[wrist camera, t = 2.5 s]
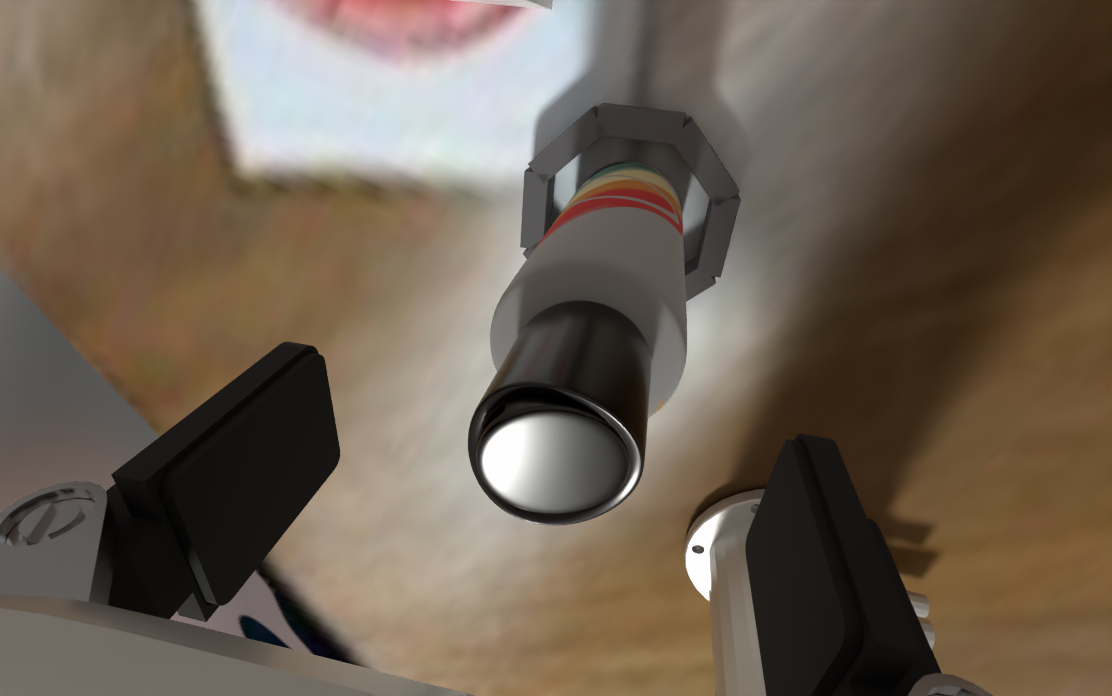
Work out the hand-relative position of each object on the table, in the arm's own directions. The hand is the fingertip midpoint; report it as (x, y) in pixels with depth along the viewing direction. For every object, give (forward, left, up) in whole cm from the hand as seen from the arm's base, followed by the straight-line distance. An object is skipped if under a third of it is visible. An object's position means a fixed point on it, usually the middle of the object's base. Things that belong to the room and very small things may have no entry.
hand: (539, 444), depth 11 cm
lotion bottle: (0, 0, -20) cm, 20 cm away
